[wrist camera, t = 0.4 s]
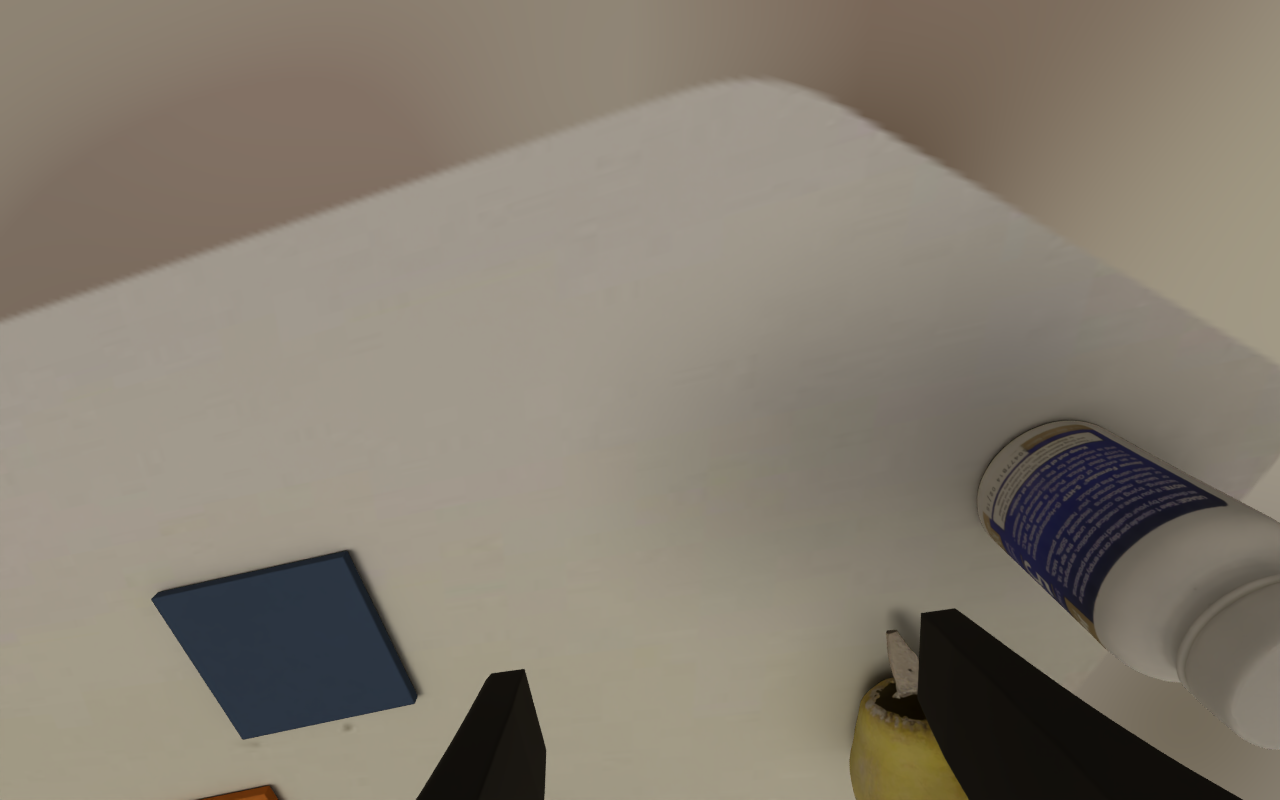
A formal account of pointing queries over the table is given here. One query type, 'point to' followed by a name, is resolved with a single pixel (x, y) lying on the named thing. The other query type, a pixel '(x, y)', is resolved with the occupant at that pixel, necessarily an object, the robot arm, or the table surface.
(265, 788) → the amber mat
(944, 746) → the robot arm
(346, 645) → the blue mat
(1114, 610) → the pill bottle
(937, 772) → the fruit
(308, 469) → the table surface
